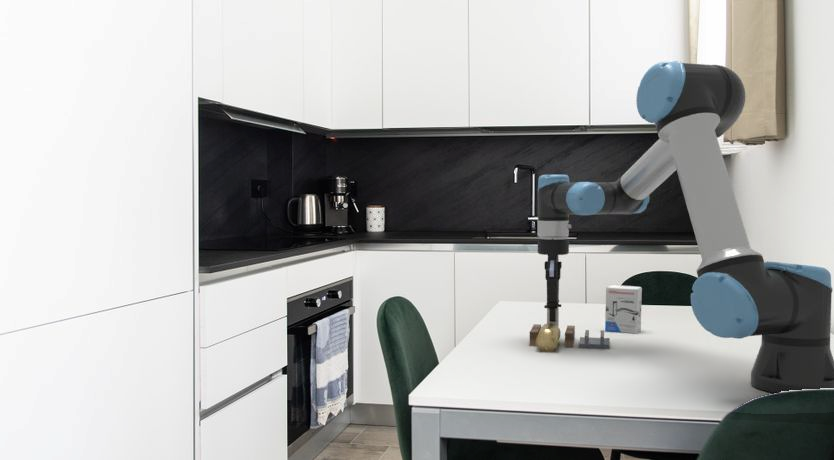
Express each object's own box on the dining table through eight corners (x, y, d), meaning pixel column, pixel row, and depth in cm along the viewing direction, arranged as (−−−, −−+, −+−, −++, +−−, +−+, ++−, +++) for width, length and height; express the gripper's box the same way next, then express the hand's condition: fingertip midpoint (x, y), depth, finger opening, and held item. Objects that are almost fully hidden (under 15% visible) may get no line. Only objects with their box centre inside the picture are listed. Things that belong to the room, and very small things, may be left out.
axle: (559, 350, 189) (555, 329, 189) (538, 354, 190) (533, 333, 190) (562, 341, 200) (558, 321, 200) (542, 345, 202) (537, 324, 202)
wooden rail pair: (572, 347, 195) (572, 333, 195) (529, 345, 197) (529, 332, 197) (574, 338, 207) (574, 325, 207) (533, 336, 209) (533, 324, 209)
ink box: (604, 331, 218) (604, 286, 217) (609, 328, 222) (609, 284, 221) (637, 333, 214) (637, 288, 213) (641, 331, 218) (642, 286, 217)
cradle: (609, 349, 193) (609, 337, 193) (578, 347, 194) (578, 336, 194) (609, 342, 201) (609, 330, 201) (580, 341, 203) (580, 329, 203)
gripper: (567, 239, 195) (567, 339, 196) (570, 236, 207) (569, 330, 209) (535, 239, 196) (535, 338, 197) (539, 236, 209) (539, 329, 210)
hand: (552, 334), depth 203 cm, fingers closed
